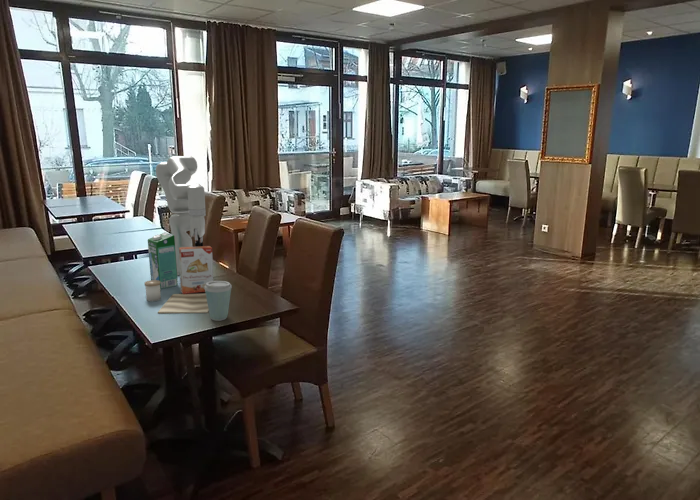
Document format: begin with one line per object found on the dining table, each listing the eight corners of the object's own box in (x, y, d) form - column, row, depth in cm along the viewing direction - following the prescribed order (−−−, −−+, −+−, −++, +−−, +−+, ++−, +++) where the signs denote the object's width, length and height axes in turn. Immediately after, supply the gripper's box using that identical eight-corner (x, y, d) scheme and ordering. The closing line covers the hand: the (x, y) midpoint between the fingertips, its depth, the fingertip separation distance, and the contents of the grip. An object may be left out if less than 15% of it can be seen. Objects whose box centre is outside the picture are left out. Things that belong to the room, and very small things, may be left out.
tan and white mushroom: (148, 296, 221) (147, 280, 219) (163, 296, 221) (162, 280, 219) (143, 301, 214) (142, 284, 212) (159, 301, 215) (157, 284, 213)
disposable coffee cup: (215, 312, 203) (213, 277, 200) (238, 315, 200) (236, 280, 197) (200, 321, 194) (198, 284, 190) (224, 324, 191) (222, 287, 187)
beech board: (173, 295, 223) (173, 293, 223) (217, 294, 225) (217, 293, 224) (157, 313, 201) (157, 312, 201) (207, 312, 202) (207, 311, 202)
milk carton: (151, 285, 237) (147, 234, 231) (168, 281, 243) (165, 231, 237) (160, 289, 231) (156, 237, 225) (178, 285, 237) (174, 234, 231)
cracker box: (182, 294, 222) (180, 249, 218) (180, 291, 227) (178, 247, 223) (214, 291, 228) (212, 247, 225) (211, 288, 233) (209, 245, 230)
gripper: (192, 210, 234) (194, 247, 239) (184, 215, 220) (187, 254, 224) (208, 210, 235) (210, 247, 239) (202, 215, 220) (204, 254, 225)
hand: (199, 250), depth 232 cm, fingers closed
